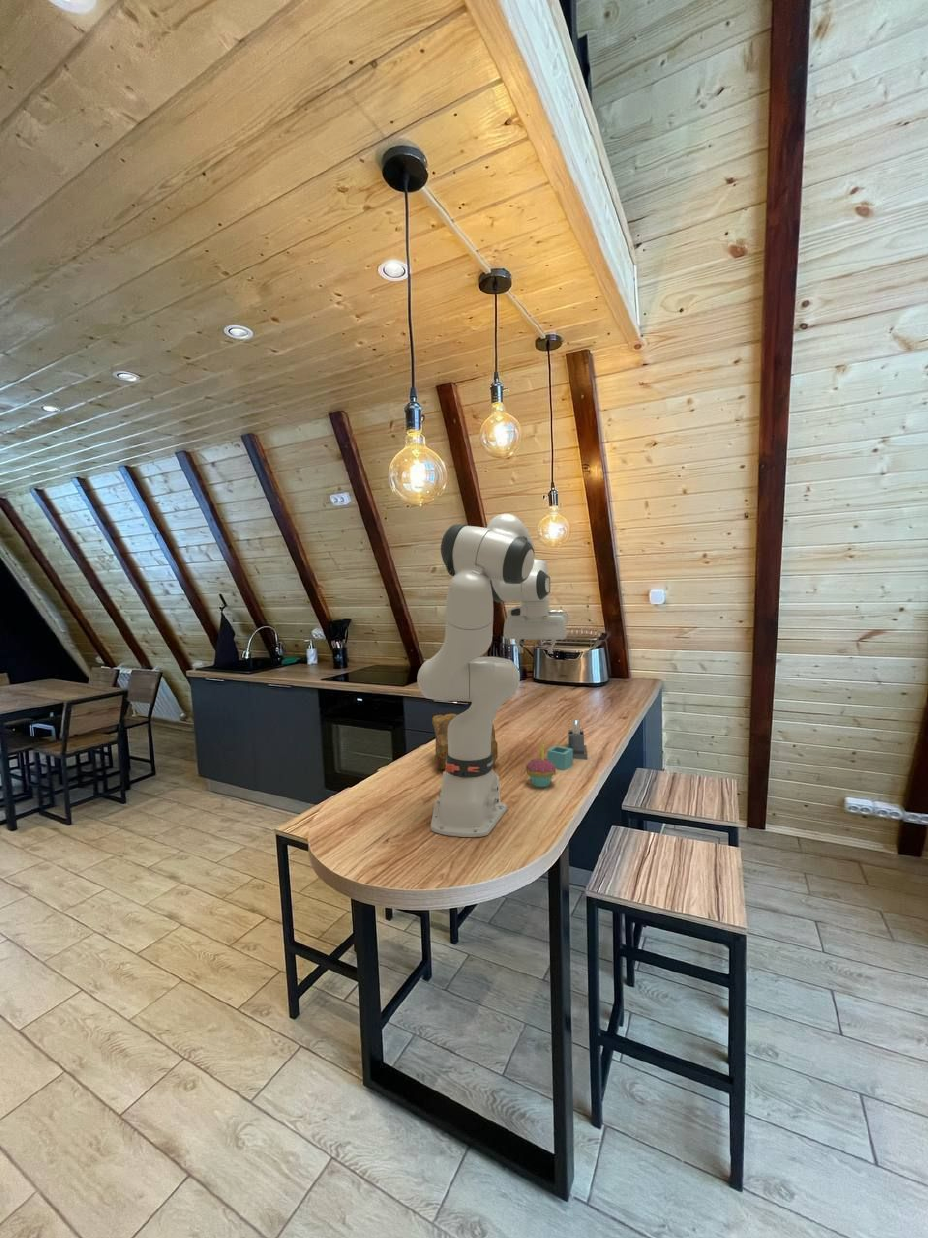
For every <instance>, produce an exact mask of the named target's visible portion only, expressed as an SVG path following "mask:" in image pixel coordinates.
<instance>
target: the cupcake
mask: <svg viewBox="0 0 928 1238" xmlns="http://www.w3.org/2000/svg"><path fill="white" fill-rule="evenodd" d="M540 752H541V754H540V755H541V757H540V758H534V759H533V760H531V761H529V762H528V763H527V764H526V766H525V768H526V769H525V773H526V775H528V776H529V777H530V780H531V784H532V785H533V786H534V787H536V788H547V787H549V786H550V783H551V779H552V778H553V776H554V775H556V774H557V768H555V765H554V764H553V763H552V762H550V761H548V760H547V758H545V757H544V756H545V754H544V753H545V744H544V743H541V751H540Z"/></svg>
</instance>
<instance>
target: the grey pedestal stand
mask: <svg viewBox="0 0 928 1238" xmlns="http://www.w3.org/2000/svg"><path fill="white" fill-rule="evenodd" d="M571 721H572V727H571V728H572V729H569V730H568V736H567V737H568V738H567V739H568V741H567V742H568V743H565V748H571V749H573V760H574V759H578V760H588V750H587V749H588V747H587V745H586V744H585V732H584V730H581V727H580V726H581V725H580V724H581V720H580V719H578V718H574V719H572V720H571Z"/></svg>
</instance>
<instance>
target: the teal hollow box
mask: <svg viewBox="0 0 928 1238" xmlns="http://www.w3.org/2000/svg"><path fill="white" fill-rule="evenodd" d="M546 755H547V756H546V760H548V761H550V762H552V763H553V764H554V765H555V768H556V770H557V769H558V770H561V771H562V770H563V771H566V770H567V769H569V768H570V767H571V766H573V764H574V761H573V760H574V759H573V749H571V748H566V746H564V747H563V746H559V745H554V746H552V747H551V748H550V749H548V750H546Z"/></svg>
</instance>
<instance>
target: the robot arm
mask: <svg viewBox="0 0 928 1238" xmlns="http://www.w3.org/2000/svg"><path fill="white" fill-rule="evenodd" d="M440 555H441V557H442V562H443V565H445V567H446V571H447V573H448V575H450V576H451V577H452V578H451V579H450V581H449V584H448V588H447V593H446V601H445V631H444V632H445V633H444V641H443V644H442V646H441V648H440V649H439V650H438V651H437V652H436V653H435V655H433V656H432V657H431V658H429V659H427V660H425V661H424V662H423V663H422V665H421V666H420V668H419V669H418V672H417V677H416V679H417V681H416V683H417V687H418V689H419V691H420V693H421V694H422V696H423V697H424V698H425V699H430V700H435V701H440V702H463V701H464V702H465V701H469V702H471V704H470V706H469V708H467V709H466V710H465V711H462V712H461V713H459V714H456V715H457V716H455V717H454V718H453V719H452V720H451V721H450V723H449V725H448V753H447V757H446V767H445V769H444V771H443V772H442V783H441V791H439V792H438V797H439V798H436V799H435V800H434V804H433V805H434V806H433V811H432V817H431V821H430V830H431V831H432V832H434V833H437V834H441V835H445V836H451V837H459V838H460V837H461V838H477V837H485V836H487V835H489V834H490V833H491V832H492V830H493V829H494V828H495V826H496V825H497V824H498V822H499V821H500V820H501V819H502V818H503V816H504V815H505V813H506V811H507V810H508V808H507V807H508V806H507V804H506V803H503V802H501V793H500V792H501V791H500V789H501V787H500V777H499V775H498V774H497V773H496V772H495V771H494V769H493V768H494V764H493V753H492V752H491V733H492V724H493V725H494V720H495V717H496V715H497V712H498V711H499V709H501V707H502V706H503V704H504V703H506V701H508V699H510V698H511V697H512V696H513V695H514V694H515V693H516V692H517V690H518V688H519V684H520V678H521V677H520V673H519V669H518V667H517V666H516V664H515V662H514V661H512V660H511V659H508V658H504V657H500V656H483V655H484V654H485V653H486V652H487V651H488V650H489V648H490V647H491V645H492V642H493V627H494V602H495V603H504V602H505V603H506V602H520V605H517V606H515V607H513V608H509V609H508V610H507V616H508V617H507V618H505V620H504V624H503V625H504V626H503V638H505V640H514V644H515V646H516V648H517V653H518V654H524V647H521V645H520V642H521V641H520V640H550V643H551V646H550V647H547V654H550V655H551V654H553V653H554V652H553V648H554V646H555V645H556V643H557V640H566V639H567V637H568V629H567V624H568V623H569V614H568V613H567V612H566V611H564V610H563V609H561V610H556V609H555V610H554V609H553V610H552V609H550V602H549V601H550V600H549V594H550V593H551V577H550V576H549V570H548V564H547V561H545V560H544V559H542V558H541V559H538V558H535V545H534V541H533V538H532V536H531V533H530V532H529V530H528V528H527V527H526V525H525V524H524V523H523V522H522V521H521V520H520V518H518V517H517V516H516V515H514V514H512V513H501V514H498V515H496V516H494V517H492V518H491V519H490V520H489V522H488V523H487V525H486V527H482V526H481V527H480V526H476V525H475V526H473V525H469V524H467V523H466V524H464V523H461V524H460V523H459V524H453V525H451V526H450V527H449V528H448V529H447V530H446V531H445V532H444V534H443V537H442V539H441V543H440Z"/></svg>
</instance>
